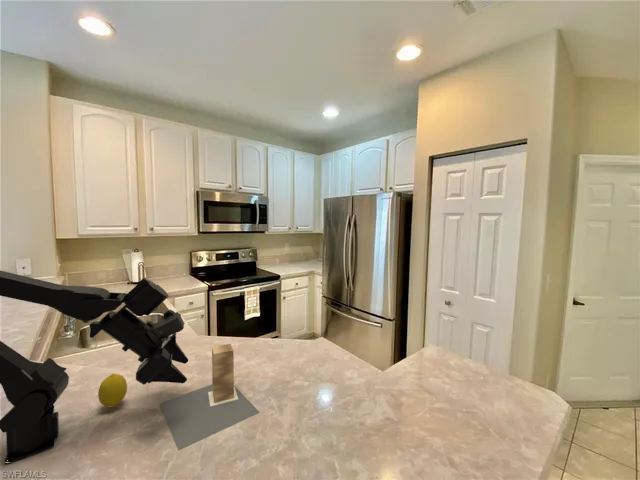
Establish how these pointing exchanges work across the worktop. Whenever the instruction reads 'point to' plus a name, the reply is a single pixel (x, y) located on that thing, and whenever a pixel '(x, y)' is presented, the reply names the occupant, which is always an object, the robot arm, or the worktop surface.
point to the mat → (203, 414)
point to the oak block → (223, 372)
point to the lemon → (112, 390)
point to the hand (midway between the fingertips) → (186, 370)
